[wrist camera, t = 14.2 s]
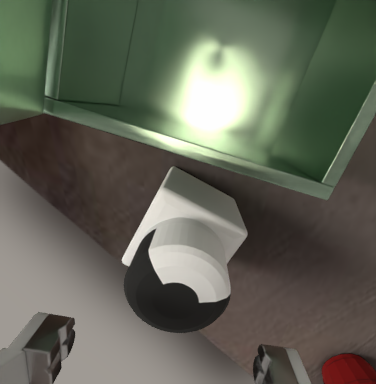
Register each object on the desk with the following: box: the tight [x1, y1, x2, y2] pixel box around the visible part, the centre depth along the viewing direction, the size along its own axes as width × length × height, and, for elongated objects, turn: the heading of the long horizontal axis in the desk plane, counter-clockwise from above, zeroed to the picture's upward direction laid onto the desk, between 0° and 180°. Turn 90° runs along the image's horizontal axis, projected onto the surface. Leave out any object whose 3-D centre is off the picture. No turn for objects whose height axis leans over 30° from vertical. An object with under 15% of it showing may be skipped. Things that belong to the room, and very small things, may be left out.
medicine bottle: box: [122, 166, 248, 333], centre depth 18 cm, size 7×7×12 cm
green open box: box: [43, 0, 376, 200], centre depth 14 cm, size 16×15×10 cm
